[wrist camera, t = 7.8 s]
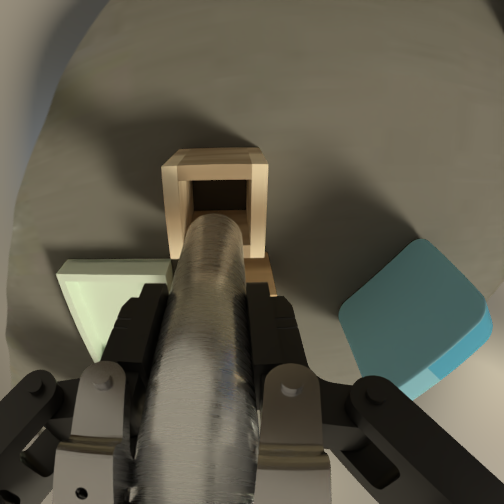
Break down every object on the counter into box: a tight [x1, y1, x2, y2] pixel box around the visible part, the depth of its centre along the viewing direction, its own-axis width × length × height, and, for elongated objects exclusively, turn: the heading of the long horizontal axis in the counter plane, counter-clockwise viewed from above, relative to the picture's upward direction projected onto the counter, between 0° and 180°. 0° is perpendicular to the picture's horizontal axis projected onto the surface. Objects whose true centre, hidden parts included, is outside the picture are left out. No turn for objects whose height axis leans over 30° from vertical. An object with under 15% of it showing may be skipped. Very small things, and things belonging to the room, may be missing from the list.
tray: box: [56, 259, 174, 363], centre depth 27 cm, size 13×11×3 cm
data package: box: [339, 239, 493, 401], centre depth 23 cm, size 12×4×12 cm, turn 138°
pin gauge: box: [129, 213, 260, 504], centre depth 8 cm, size 3×3×14 cm
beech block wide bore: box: [161, 147, 268, 259], centre depth 20 cm, size 6×6×6 cm
